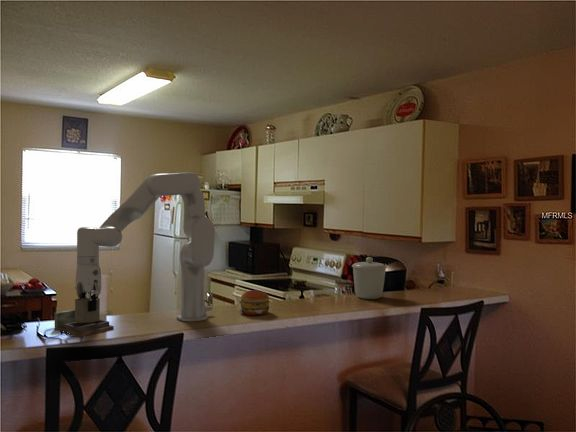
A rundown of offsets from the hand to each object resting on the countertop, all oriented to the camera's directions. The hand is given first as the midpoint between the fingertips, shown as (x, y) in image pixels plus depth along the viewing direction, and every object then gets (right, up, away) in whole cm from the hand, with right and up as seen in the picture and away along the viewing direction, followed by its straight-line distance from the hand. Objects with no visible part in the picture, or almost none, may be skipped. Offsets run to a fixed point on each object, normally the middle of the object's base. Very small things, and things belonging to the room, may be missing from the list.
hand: (87, 309), depth 182 cm
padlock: (0, -5, 0) cm, 5 cm away
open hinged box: (-2, -8, +1) cm, 8 cm away
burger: (+59, -8, +33) cm, 69 cm away
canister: (+116, -8, +75) cm, 138 cm away
